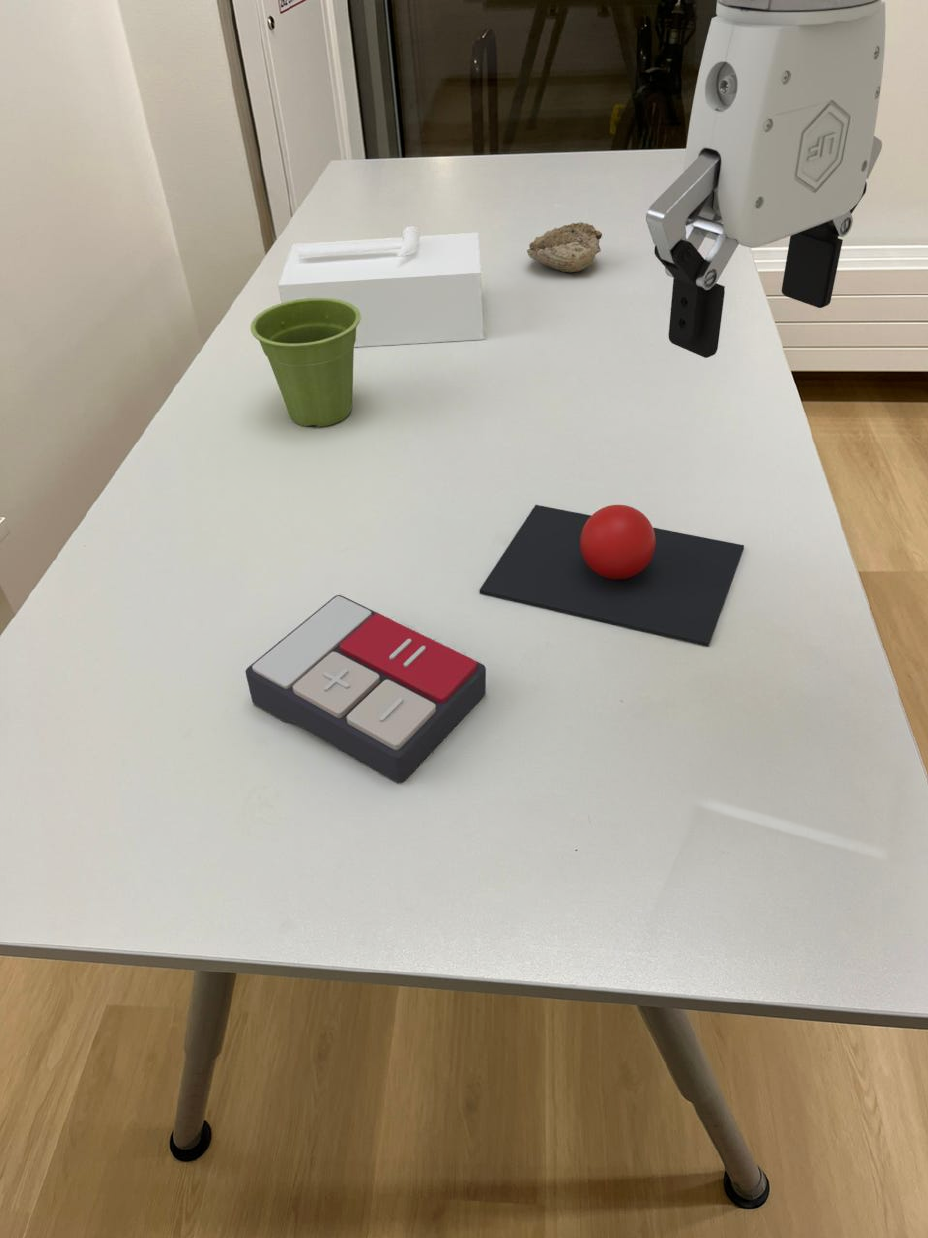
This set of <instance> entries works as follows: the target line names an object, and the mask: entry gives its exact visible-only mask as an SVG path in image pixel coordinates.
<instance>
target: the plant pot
mask: <svg viewBox="0 0 928 1238" xmlns="http://www.w3.org/2000/svg"><path fill="white" fill-rule="evenodd" d="M360 319H361V315H360V312H359V310H358V309H357V308H356V307H355V306H353V305H352V304H350V303H348V302H345V301H342V300H337V299H330V298H306V299H298V300H292V301H288V302H284V303H278V304H276V305H272V306H270V307H268V308H266V309H265V310H263V311H261V312H260V313H258V314H256V316H255V317H253V319H252V321H251V323H250V332H251V334H252V336H253V337H254V338H255V339H256V340H258V341H259V344H260V346H261V349H262V352H263V353H264V355H265V356H266V357H267V360H268V362H269V364H270V368H271V370H272V372H273V375H274V379H275V380H276V383H277V385H278V388H279V391H280V394H281V397H282V399H283V402H284V403H285V407H286V409H287V412H288V414H289V417H290V419H291V420H292V421H293V422H294V423H296V424H298V425H300V426H304V427H310V426H318V427H328V426H332V425H334V424H337V423H339V422H342V421H343V420H345V419H346V418H348V416H349V415H350V413H351V411H352V409H353V394H354V393H353V391H354V390H353V389H354V355H355V347H354V344H355V341H356V327H357V325H358V324H359V322H360Z"/></svg>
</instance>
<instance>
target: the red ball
mask: <svg viewBox="0 0 928 1238" xmlns="http://www.w3.org/2000/svg"><path fill="white" fill-rule="evenodd" d="M653 528H654V527H653V525H652V522H650V520H649V518H648V517H647V516H646V515H645V514H644V513H643V512H641V511H640V510H638V509H637V508H635V507H633V506H630V505H625V504H610V505H607V506H605V507H601V508H600V509H598V510H597V511H595V512H594V513H593V514H591V517H590V518H589V519H588V520H587V522H586V523H585V525H584V527H583V530H582V533H581V538H580V548H581V552H582V555H583V558H584V560H585V562H586V563H587V565H588V566H589V567H590V568H591V569H592V570H593V571H594V572H596V573H597V574H599V575H601V576H603V577H605V578H609V579H626V578H630V577H632V576H634V575H636V574H638V573H639V572H641V571H642V570H643V569H644V568H645V567H646V566H647V565H648V563H649V562H650V560H651V558H652V556H653V554H654V551H655V544H656V539H655V532H654V529H653Z"/></svg>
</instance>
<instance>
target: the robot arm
mask: <svg viewBox="0 0 928 1238" xmlns="http://www.w3.org/2000/svg"><path fill="white" fill-rule="evenodd" d="M715 9H716V10H715V14H716V16H713V17H712V18H711V21H710V24H709V27H708V31H707V35H706V40H705V43H704V47H703V52H702V57H701V61H700V65H699V70H698V75H697V80H696V84H695V91H694V96H693V101H692V107H691V113H690V119H689V125H688V132H687V139H686V147H685V153H684V155H685V156H684V164H683V172H682V173H681V174H680V176H678V178H677V179H675V181H674V182H672V184H671V185H670V186H669V187H667V189H666V190H665V191H664V192H663V193H662V194H661V195H660V196H659V197H658V198H657V199H656V200H655V201H654V202H653V203H652V204H651V205H650V206H649V208H648V209H647V211H646V214H645V222H646V224H647V227H648V230H649V231H648V232H649V233H650V237H651V240H652V242H653V245H654V250H653V251H654V255H655V258H657V260H658V261H659V262H660V263H661V264H662V265H663V267H664V271H665V274H666V276H667V277H671V278H672V279H673V281H672V291H671V302H670V303H671V304H670V314H669V324H668V340H669V342H670V343H671V344H672V345H674V346H677V347H679V348H681V349H683V350H686V351H689V352H691V353H693V354H695V355H698V356H700V357H702V358H705V359H708V358H710V357H712V356H715V355H716V354H717V351H718V349H719V342H720V333H721V326H722V318H723V309H724V302H725V293H726V291H725V290H726V286H725V285H723V284H719V283H718V281H719V279H720V278H721V276H722V274H723V272H724V270H725V268H726V267H727V265H728V264H729V262H730V260H731V258H732V256H733V255H734V253H735V251H736V250H737V248H738V246H739V245H740V246H742V247H745V248H752V249H753V248H759V247H763V246H766V245H770V244H772V243H776V242H777V241H780V240H783V239H786V238H788V237H789V243H788V248H787V254H786V260H785V266H784V273H783V279H782V285H781V293H782V295H783V296H785V297H787V298H790V299H792V300H794V301H798V302H801V303H803V304H807V305H809V306H812V307H815V308H818V309H823V308H825V307H827V306H829V305H830V304H831V301H832V297H833V291H834V286H835V282H836V276H837V271H838V266H839V261H840V257H841V251H842V247H843V242H844V240H843V239H842V238H844V237H846V236H847V235H848V234H849V233H850V231H851V229H852V227H853V223H854V220H853V219H854V218H853V215H852V214H853V212H854V211H855V210H856V208H857V206H859V203H860V202H861V200H862V198H863V197H864V196H865V195H866V193H867V187H868V186H867V185H868V183H867V180H869V177H870V176H871V174H872V172H873V169H874V166H875V165H876V162H877V160H878V158H879V156H880V154H881V152H882V148H883V141H882V140H881V139H880V138H879V137H877V136H875V132H876V125H877V118H878V112H879V111H878V110H879V104H880V96H881V88H882V81H883V72H884V62H885V48H886V47H885V46H886V45H885V44H886V2H885V1H883V0H716V8H715ZM839 237H841V238H839ZM705 238H706V239H709V240H713V241H714V242H713V244H712V246H711V248H710V249H709V251H708V253H707V255H706V257H705V258H704V257H703V256H702V254H701V253H700V252H699V249H700V247H701V245H702V243H703V241H704V240H705Z"/></svg>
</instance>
